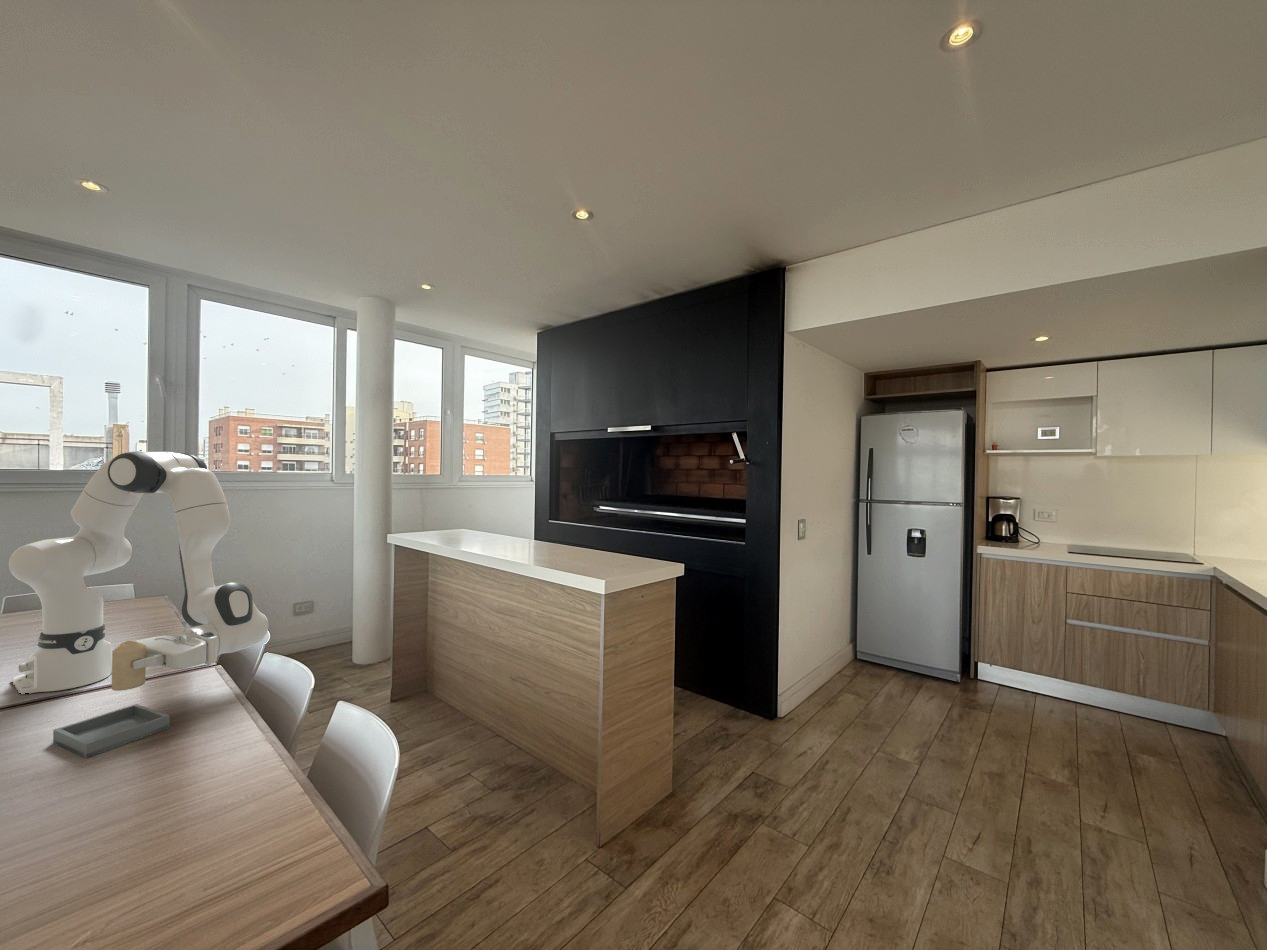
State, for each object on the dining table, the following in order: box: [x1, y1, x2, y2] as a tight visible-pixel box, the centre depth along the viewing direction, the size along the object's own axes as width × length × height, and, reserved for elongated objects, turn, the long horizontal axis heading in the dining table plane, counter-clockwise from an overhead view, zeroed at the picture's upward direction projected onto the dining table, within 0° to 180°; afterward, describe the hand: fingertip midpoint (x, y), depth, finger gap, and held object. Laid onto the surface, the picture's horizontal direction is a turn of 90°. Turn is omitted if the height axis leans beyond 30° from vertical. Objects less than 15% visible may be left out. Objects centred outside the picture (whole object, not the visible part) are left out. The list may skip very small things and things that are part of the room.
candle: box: [111, 640, 147, 692], centre depth 117 cm, size 6×6×10 cm
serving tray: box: [52, 703, 171, 759], centre depth 111 cm, size 14×14×3 cm
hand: (124, 662), depth 116 cm, fingers closed on candle, 5 cm apart
